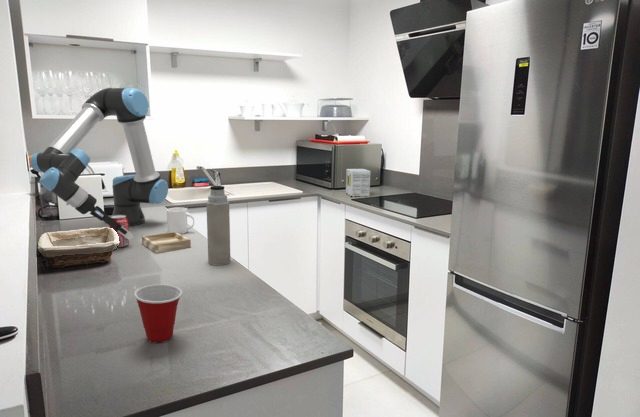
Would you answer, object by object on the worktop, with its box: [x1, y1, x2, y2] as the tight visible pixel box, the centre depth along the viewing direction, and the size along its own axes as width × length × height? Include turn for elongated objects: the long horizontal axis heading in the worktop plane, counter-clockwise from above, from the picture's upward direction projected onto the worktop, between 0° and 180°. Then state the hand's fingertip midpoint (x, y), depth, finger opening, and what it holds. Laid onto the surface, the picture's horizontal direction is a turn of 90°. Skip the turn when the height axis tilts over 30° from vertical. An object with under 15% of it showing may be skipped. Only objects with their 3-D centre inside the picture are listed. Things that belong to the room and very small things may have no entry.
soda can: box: [108, 215, 130, 248], centre depth 183 cm, size 7×7×12 cm
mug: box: [166, 206, 195, 235], centre depth 206 cm, size 9×12×11 cm
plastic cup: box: [133, 283, 183, 343], centre depth 110 cm, size 11×11×12 cm
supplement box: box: [345, 168, 371, 196], centre depth 308 cm, size 13×13×18 cm
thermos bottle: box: [205, 185, 231, 266], centre depth 165 cm, size 8×8×28 cm
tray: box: [141, 231, 192, 254], centre depth 186 cm, size 16×14×3 cm
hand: (128, 235), depth 186 cm, fingers closed on soda can, 7 cm apart
